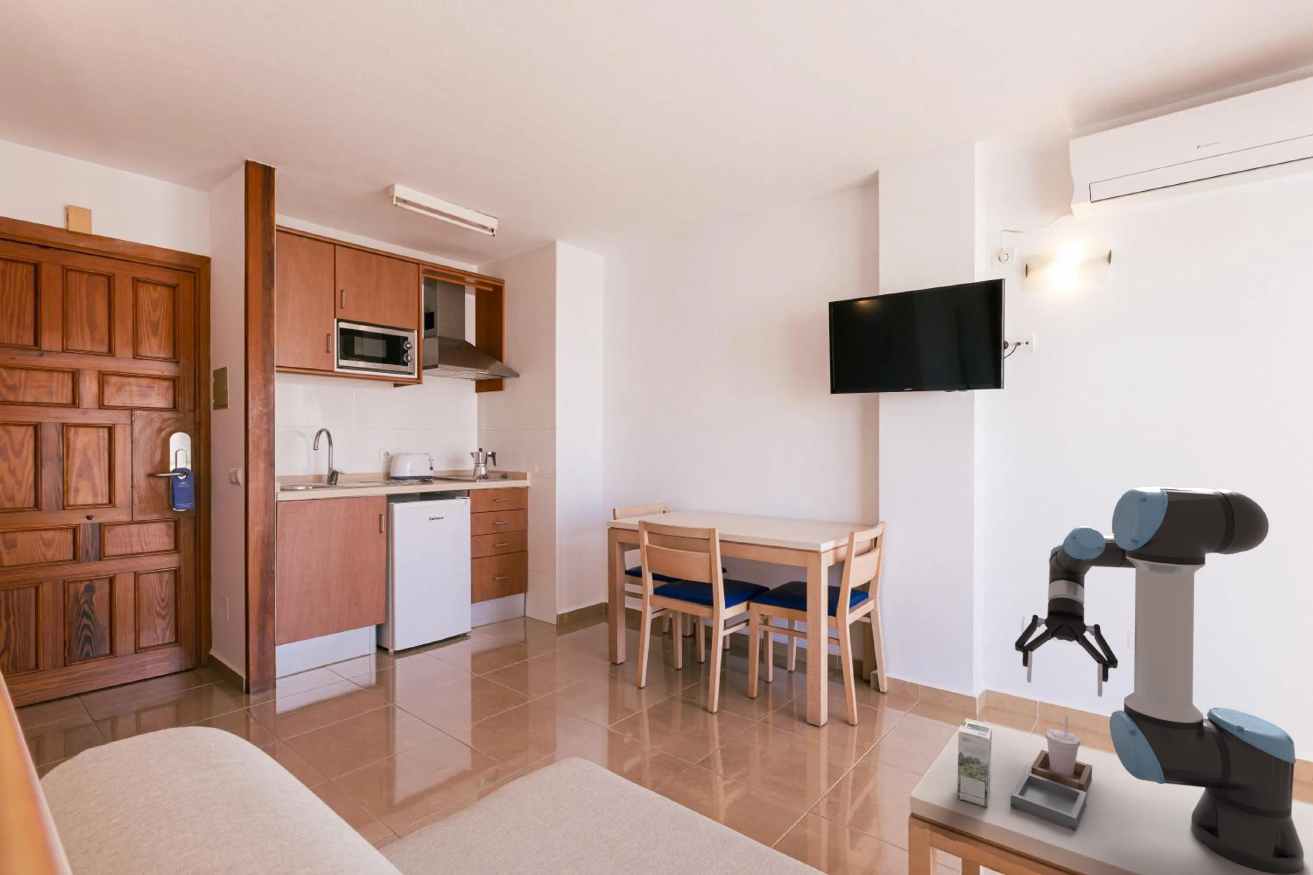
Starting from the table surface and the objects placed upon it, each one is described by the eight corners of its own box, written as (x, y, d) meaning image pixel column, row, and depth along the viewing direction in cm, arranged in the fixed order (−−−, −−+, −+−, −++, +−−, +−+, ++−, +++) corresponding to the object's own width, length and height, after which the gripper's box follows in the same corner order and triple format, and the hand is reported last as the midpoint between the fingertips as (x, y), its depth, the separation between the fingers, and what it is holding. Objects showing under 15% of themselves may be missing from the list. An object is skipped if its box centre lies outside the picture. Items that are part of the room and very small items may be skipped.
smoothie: (1084, 790, 134) (1087, 724, 134) (1050, 786, 136) (1052, 721, 135) (1071, 773, 141) (1073, 710, 140) (1039, 769, 142) (1041, 707, 141)
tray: (1086, 804, 130) (1086, 792, 130) (1075, 831, 122) (1076, 818, 121) (1024, 782, 137) (1025, 771, 137) (1010, 806, 129) (1011, 794, 129)
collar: (1091, 778, 139) (1092, 765, 138) (1083, 798, 132) (1083, 784, 131) (1041, 762, 145) (1041, 749, 145) (1030, 780, 138) (1031, 766, 138)
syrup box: (990, 793, 133) (992, 725, 132) (987, 809, 128) (989, 737, 127) (960, 785, 136) (961, 718, 136) (956, 799, 131) (957, 730, 131)
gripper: (1127, 620, 154) (1130, 707, 142) (1008, 603, 167) (1002, 681, 156) (1130, 604, 149) (1133, 692, 137) (1007, 588, 163) (1000, 667, 151)
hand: (1063, 686), depth 146 cm, fingers open, 13 cm apart
